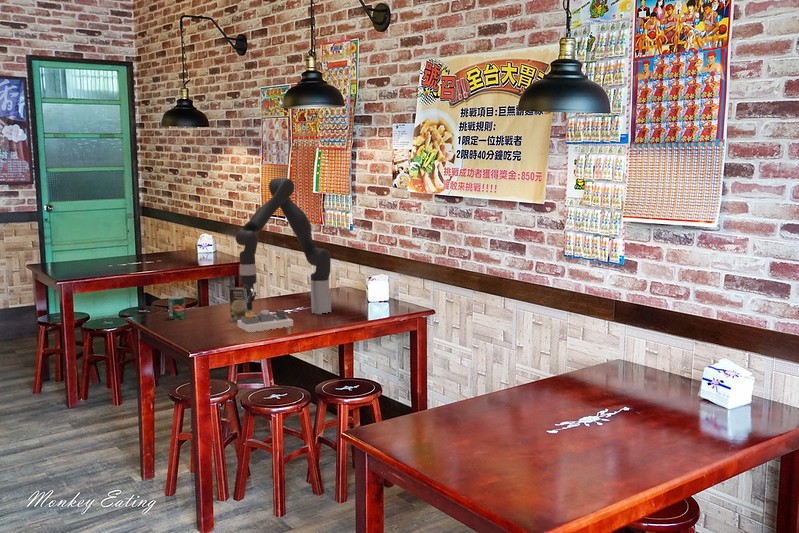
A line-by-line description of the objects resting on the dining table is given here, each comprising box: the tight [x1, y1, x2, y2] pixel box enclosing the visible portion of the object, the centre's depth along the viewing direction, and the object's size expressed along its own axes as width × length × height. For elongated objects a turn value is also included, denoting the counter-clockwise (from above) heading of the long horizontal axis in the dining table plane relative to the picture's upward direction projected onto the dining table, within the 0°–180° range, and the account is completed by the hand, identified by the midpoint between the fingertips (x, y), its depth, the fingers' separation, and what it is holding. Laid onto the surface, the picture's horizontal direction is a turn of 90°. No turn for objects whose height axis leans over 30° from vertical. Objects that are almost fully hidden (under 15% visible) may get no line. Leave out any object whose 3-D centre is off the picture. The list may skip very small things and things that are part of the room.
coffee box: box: [229, 286, 252, 323], centre depth 365 cm, size 9×6×16 cm
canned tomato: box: [167, 295, 187, 321], centre depth 371 cm, size 8×8×11 cm
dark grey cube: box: [275, 309, 286, 320], centre depth 354 cm, size 3×3×4 cm
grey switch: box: [260, 309, 270, 317], centre depth 352 cm, size 4×4×3 cm
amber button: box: [245, 311, 255, 319], centre depth 348 cm, size 4×4×3 cm
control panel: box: [237, 312, 294, 334], centre depth 352 cm, size 22×15×6 cm
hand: (249, 309), depth 348 cm, fingers closed
